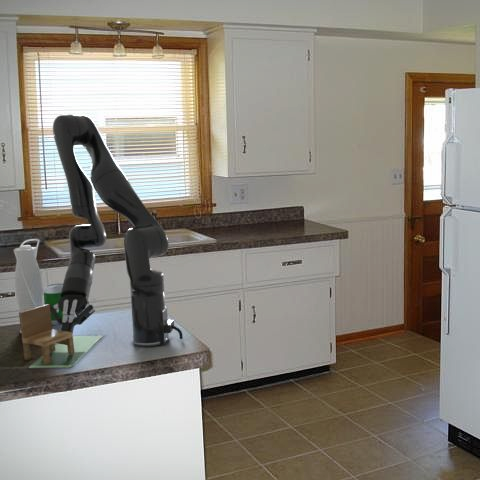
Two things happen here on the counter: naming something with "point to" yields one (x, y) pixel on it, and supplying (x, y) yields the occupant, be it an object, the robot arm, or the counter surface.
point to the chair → (42, 332)
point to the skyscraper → (28, 277)
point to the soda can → (53, 298)
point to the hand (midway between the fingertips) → (65, 336)
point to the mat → (61, 356)
